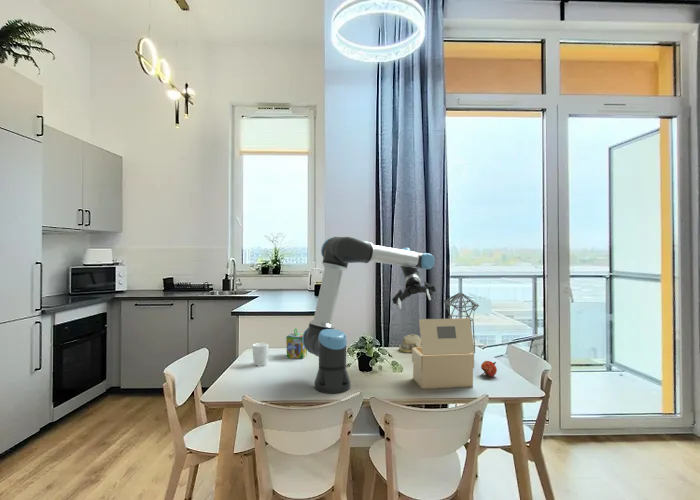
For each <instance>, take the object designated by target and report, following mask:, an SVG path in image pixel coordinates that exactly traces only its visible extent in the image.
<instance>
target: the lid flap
mask: <svg viewBox="0 0 700 500" xmlns="http://www.w3.org/2000/svg"><path fill="white" fill-rule="evenodd" d="M455 318H456V317H455ZM455 318H452V319H450V318H449V319H448V318H422V319H421V318H420V319H419V320H418V321H419V332H420V338H421V344H422V345H421V347H422V355H428V354H459V353H474V354H476V351H475V352H474V340H473V329H472V322H471V323H470V319H471V318H468V317H467V318H466V317H463V318H459V317H457V318H456V319H455ZM471 329H472V330H471Z"/></svg>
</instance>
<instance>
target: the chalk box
mask: <svg viewBox="0 0 700 500" xmlns="http://www.w3.org/2000/svg"><path fill="white" fill-rule="evenodd" d="M293 331H294V333H289V334H288V335H287V336H286V337H285V338H286V358H287V357H288V358H287V359H302V358H303V359H304V358H305V357H306V356H307V355H306V354H308V353H307V352H308V351H307V350H306V349H305V347H304V345H303V342H302V336H303V333H298V330H297V328H294V329H293ZM305 355H306V356H305Z"/></svg>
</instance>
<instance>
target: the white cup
mask: <svg viewBox="0 0 700 500" xmlns="http://www.w3.org/2000/svg"><path fill="white" fill-rule="evenodd" d="M269 346H270V344H269V343H267V342H257V343H253V344H252V357H253V366H255V365H257V366H256V367H263V366H262V365H265V366H267V365H268V364H267V363H268V362H269V348H270V347H269ZM266 364H267V365H266Z"/></svg>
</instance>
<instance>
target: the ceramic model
mask: <svg viewBox="0 0 700 500" xmlns="http://www.w3.org/2000/svg"><path fill="white" fill-rule="evenodd" d="M398 346H399V347H398V348H399V351H400V353H401V352H402V353H412V348H413V347H422V344H421V336H419V335H418V334H414V333H412V332H411V334H406V335H404V337H403V339H402V344H400V345H398Z"/></svg>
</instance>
